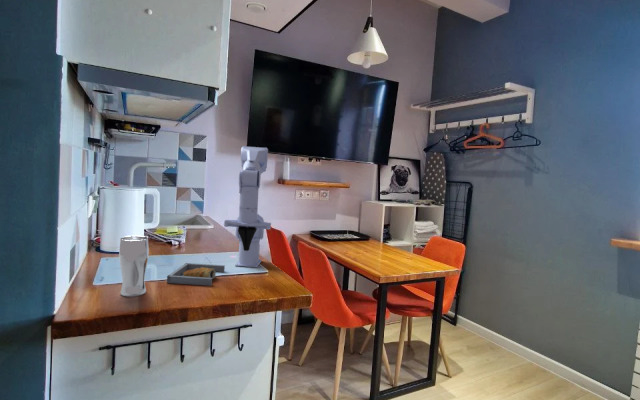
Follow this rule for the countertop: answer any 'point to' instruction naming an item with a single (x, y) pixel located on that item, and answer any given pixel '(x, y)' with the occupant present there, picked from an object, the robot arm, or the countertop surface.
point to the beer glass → (133, 264)
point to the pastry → (200, 273)
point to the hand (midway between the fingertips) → (246, 250)
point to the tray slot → (179, 279)
